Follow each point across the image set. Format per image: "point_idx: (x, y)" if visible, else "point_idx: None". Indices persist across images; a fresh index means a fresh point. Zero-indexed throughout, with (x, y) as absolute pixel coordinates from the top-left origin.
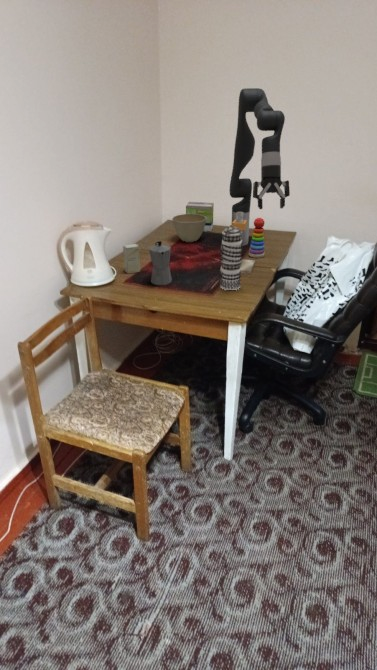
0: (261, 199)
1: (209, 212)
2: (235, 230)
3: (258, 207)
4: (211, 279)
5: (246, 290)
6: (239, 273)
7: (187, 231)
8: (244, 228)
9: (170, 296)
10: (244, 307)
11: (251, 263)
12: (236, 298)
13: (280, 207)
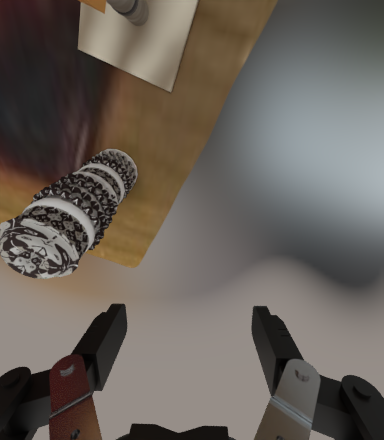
0: (95, 387)
1: None
2: (47, 277)
3: (102, 317)
4: (68, 116)
5: (148, 190)
6: (123, 197)
7: None
8: (98, 9)
9: (5, 194)
10: (139, 247)
11: (186, 8)
12: (127, 218)
13: (254, 313)
